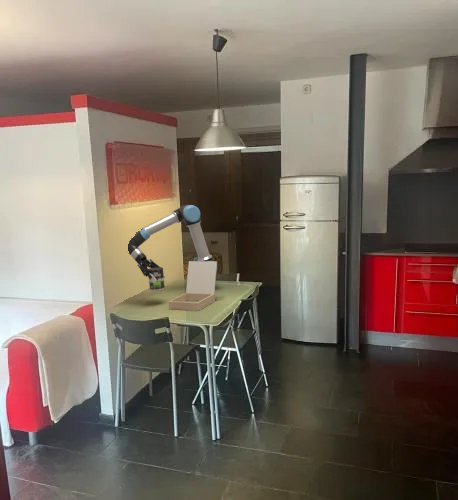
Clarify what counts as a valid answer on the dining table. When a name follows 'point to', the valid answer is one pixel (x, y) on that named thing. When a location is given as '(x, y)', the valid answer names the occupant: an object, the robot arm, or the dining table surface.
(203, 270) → the mailer box
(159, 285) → the coffee can
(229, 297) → the dining table surface
